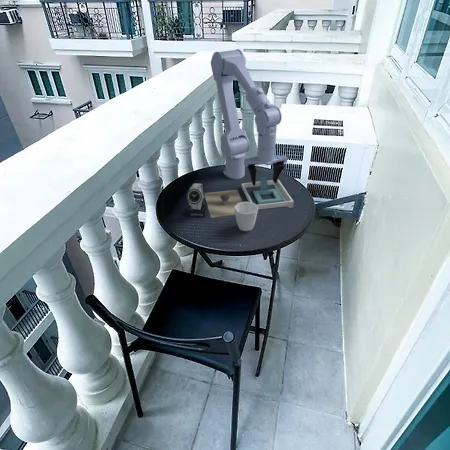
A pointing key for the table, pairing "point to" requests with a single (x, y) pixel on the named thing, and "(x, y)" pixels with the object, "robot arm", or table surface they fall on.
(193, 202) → the watch
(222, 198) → the board
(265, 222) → the table surface
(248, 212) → the cup
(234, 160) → the robot arm
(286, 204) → the tray
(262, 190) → the teal frame with handle
